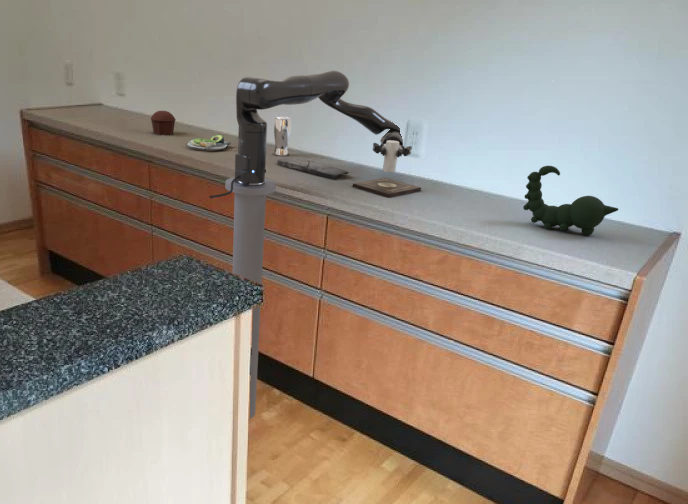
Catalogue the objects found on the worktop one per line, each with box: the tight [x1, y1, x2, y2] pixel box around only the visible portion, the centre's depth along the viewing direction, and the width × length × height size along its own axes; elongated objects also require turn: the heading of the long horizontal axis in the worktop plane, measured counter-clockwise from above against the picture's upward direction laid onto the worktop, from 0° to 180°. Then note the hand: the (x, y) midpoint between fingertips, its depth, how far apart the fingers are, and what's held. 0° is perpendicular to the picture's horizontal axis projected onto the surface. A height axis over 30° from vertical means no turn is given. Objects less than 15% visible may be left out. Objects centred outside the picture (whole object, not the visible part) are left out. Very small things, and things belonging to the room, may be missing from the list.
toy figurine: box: [523, 165, 619, 236], centre depth 174 cm, size 9×19×25 cm
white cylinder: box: [382, 140, 399, 173], centre depth 206 cm, size 4×4×10 cm
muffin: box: [150, 110, 176, 136], centre depth 280 cm, size 12×11×10 cm
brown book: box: [352, 177, 422, 198], centre depth 211 cm, size 18×16×1 cm
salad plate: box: [187, 134, 232, 152], centre depth 255 cm, size 19×18×5 cm
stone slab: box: [276, 157, 349, 181], centre depth 229 cm, size 10×3×30 cm
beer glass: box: [273, 116, 292, 157], centre depth 251 cm, size 7×7×15 cm
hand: (391, 153), depth 203 cm, fingers closed on white cylinder, 4 cm apart
